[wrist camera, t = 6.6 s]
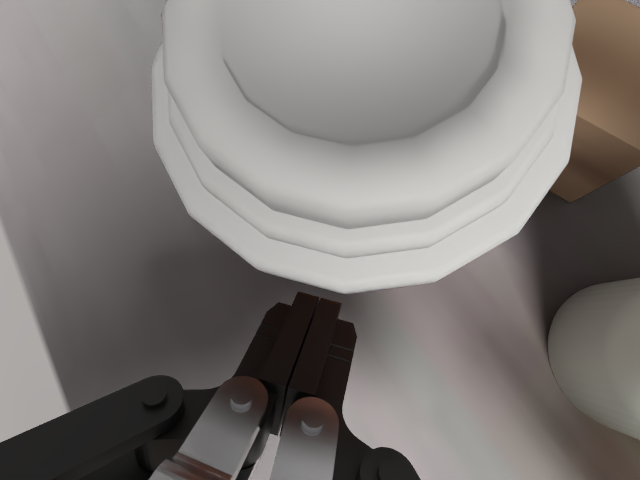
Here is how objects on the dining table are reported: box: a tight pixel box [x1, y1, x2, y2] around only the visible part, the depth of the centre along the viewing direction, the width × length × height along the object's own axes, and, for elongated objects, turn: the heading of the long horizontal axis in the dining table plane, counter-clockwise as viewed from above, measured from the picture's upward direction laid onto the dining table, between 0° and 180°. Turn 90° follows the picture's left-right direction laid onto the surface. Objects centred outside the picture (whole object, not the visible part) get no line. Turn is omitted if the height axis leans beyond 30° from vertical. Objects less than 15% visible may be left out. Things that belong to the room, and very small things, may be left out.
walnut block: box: [549, 0, 640, 203], centre depth 16 cm, size 5×5×5 cm
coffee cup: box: [151, 0, 582, 295], centre depth 12 cm, size 9×9×12 cm
